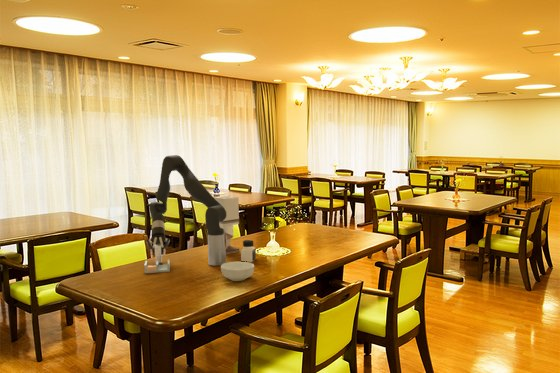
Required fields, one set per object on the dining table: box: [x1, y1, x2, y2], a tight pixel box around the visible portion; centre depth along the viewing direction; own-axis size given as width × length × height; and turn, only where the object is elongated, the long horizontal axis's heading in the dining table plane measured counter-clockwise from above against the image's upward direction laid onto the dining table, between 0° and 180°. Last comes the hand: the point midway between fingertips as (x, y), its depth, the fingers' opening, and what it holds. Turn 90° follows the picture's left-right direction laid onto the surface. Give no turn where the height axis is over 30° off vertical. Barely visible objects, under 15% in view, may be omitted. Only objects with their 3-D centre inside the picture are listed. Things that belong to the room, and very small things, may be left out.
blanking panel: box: [154, 243, 163, 264], centre depth 261 cm, size 6×4×10 cm, turn 13°
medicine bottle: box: [240, 239, 257, 263], centre depth 266 cm, size 7×7×12 cm
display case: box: [213, 195, 240, 255], centre depth 288 cm, size 11×11×35 cm
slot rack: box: [143, 258, 171, 274], centre depth 248 cm, size 11×13×4 cm
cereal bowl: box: [220, 261, 255, 282], centre depth 230 cm, size 17×17×7 cm
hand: (158, 254), depth 260 cm, fingers closed on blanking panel, 3 cm apart
